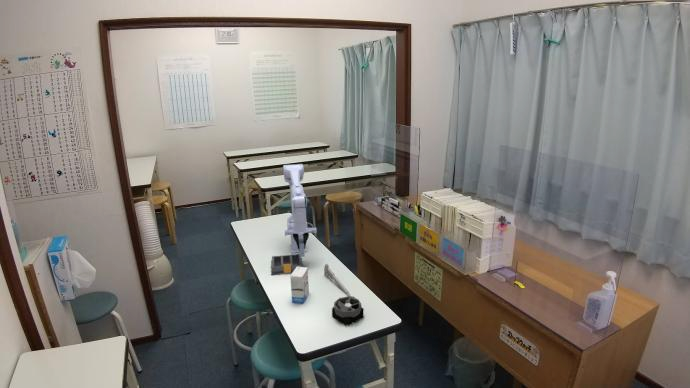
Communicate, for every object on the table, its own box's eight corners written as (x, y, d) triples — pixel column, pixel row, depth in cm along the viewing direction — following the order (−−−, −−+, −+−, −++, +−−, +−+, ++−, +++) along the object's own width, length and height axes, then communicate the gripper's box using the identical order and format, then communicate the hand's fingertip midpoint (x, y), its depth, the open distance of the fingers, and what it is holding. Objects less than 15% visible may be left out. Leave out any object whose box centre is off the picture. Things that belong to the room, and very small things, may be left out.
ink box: (303, 303, 156) (302, 277, 153) (291, 302, 157) (289, 276, 154) (309, 292, 164) (308, 266, 161) (298, 291, 165) (296, 265, 162)
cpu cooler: (346, 314, 139) (328, 302, 147) (346, 328, 141) (328, 316, 148) (367, 303, 146) (349, 292, 153) (367, 317, 147) (349, 305, 155)
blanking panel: (298, 249, 190) (298, 238, 188) (302, 249, 190) (302, 237, 188) (300, 256, 182) (299, 244, 180) (304, 256, 182) (304, 244, 181)
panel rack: (271, 261, 192) (270, 252, 190) (301, 258, 194) (301, 250, 193) (271, 275, 179) (270, 266, 177) (303, 272, 181) (303, 263, 180)
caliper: (324, 275, 178) (323, 263, 176) (326, 275, 179) (325, 262, 177) (348, 297, 161) (348, 283, 159) (350, 296, 162) (350, 282, 160)
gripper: (284, 225, 176) (286, 253, 180) (316, 222, 178) (317, 250, 182) (283, 219, 182) (285, 246, 186) (315, 217, 185) (316, 243, 189)
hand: (301, 248), depth 185 cm, fingers closed on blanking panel, 2 cm apart
